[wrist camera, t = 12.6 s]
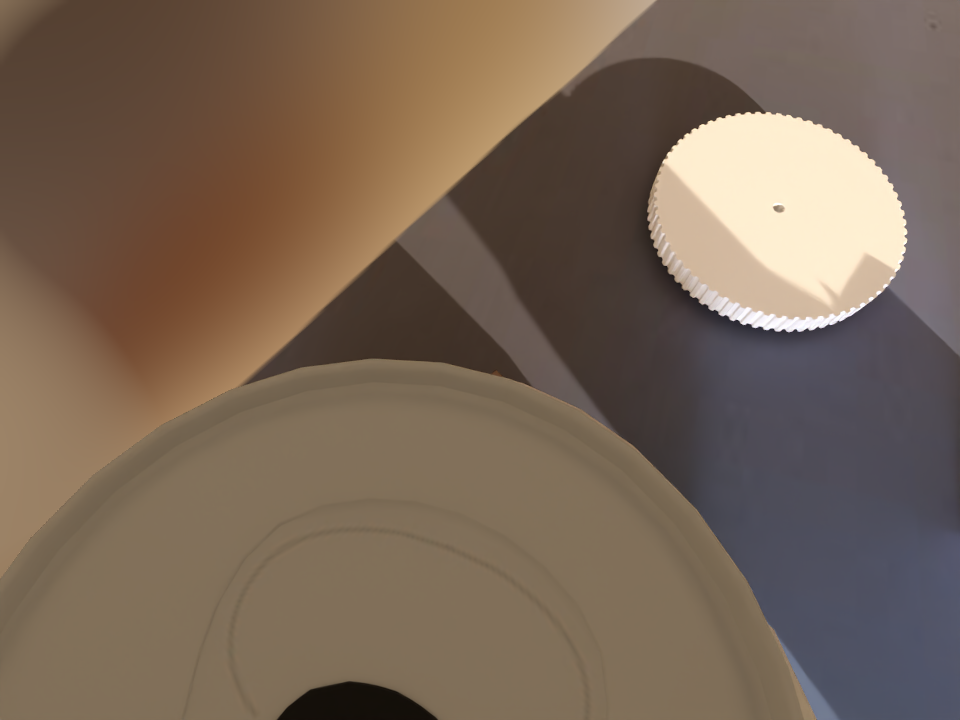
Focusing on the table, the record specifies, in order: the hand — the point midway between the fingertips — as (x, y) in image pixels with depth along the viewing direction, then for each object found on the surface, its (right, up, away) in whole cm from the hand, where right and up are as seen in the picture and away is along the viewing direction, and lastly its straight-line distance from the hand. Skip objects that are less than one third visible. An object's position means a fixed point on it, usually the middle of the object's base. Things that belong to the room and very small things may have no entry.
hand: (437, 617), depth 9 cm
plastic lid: (+18, +11, +28) cm, 35 cm away
